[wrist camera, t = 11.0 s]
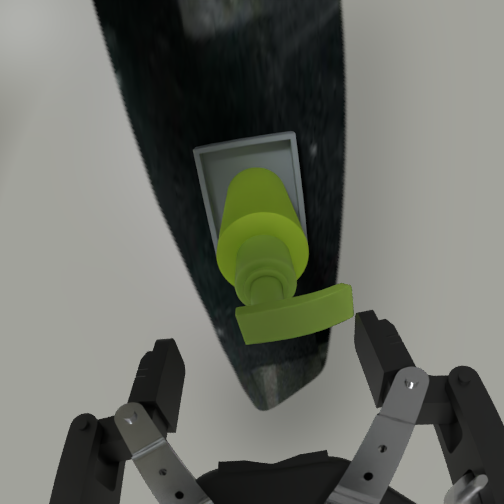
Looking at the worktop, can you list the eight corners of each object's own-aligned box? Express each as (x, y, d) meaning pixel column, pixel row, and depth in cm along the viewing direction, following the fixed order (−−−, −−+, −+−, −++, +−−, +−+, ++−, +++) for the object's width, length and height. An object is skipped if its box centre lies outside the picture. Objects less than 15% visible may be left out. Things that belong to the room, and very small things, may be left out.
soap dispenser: (300, 213, 33) (358, 351, 15) (235, 228, 34) (226, 378, 16) (289, 158, 30) (350, 251, 13) (220, 175, 31) (186, 288, 13)
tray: (195, 146, 30) (192, 149, 28) (292, 131, 30) (295, 133, 28) (219, 254, 36) (218, 263, 34) (305, 241, 35) (308, 249, 33)
